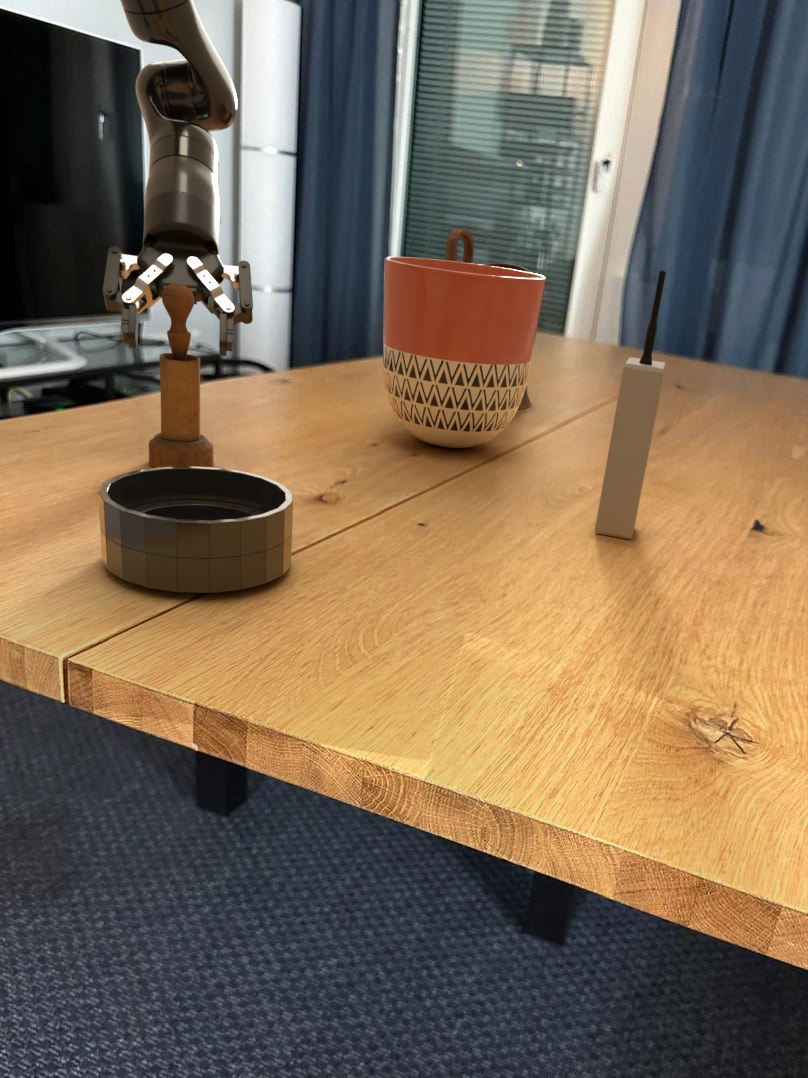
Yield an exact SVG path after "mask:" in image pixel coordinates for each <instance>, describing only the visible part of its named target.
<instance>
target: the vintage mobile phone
mask: <svg viewBox="0 0 808 1078" xmlns="http://www.w3.org/2000/svg"><path fill="white" fill-rule="evenodd" d="M666 275H667V271H666V270H664V269H661V270H659V271H658V277H657V282H656V288H655V292H654V299H653V304H652V310H651V314H650V319H649V322H648V326H647V329H646V335H645V341H644V346H643V351H642V355H641V357H640V358H639V357H633V356H630V357H628V359H627V360H626V362H625V364H624V365H623V367H622V368H623V369H622V373H621V379H620V386H619V390H618V396H617V400H616V401H617V402H616V408H615V413H614V418H613V425H612V431H611V435H610V441H609V446H608V453H607V459H606V464H605V470H604V475H603V481H602V485H601V491H600V492H601V493H600V498H599V503H598V509H597V515H596V521H595V526H594V532H595V534H597V535H603V536H608V537H613V538H619V539H624V540H625V539H626V540H630V539H632V537H633V533H634V530H635V526H636V523H637V518H638V512H639V506H640V501H641V496H642V490H643V487H644V486H643V485H644V482H645V481H644V480H645V475H646V470H647V465H648V461H649V460H648V459H649V455H650V450H651V445H652V439H653V435H654V429H655V423H656V419H657V415H658V411H659V410H658V409H659V404H660V400H661V395H662V389H663V385H664V380H665V374H666V369H667V363H666V361H665V362H664V361H656V360H653V350H654V346H655V340H656V334H657V330H658V317H659V312H660V306H661V302H662V301H661V300H662V296H663V290H664V285H665V280H666Z"/></svg>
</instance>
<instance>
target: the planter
mask: <svg viewBox="0 0 808 1078" xmlns="http://www.w3.org/2000/svg"><path fill="white" fill-rule="evenodd" d="M546 282H547V277H546V276H544V275H542V274H538V273H533V272H531V273H529V272H524V271H519V270H513V269H507V268H500V267H494V266H487V265H484V264H479V263H473V264H472V263H464V262H462V261H456V262H455V261H446V260H445V259H437V258H436V259H435V258H425V257H410V256H387V257H385V258H384V269H383V323H382V325H383V326H382V328H383V329H382V370H383V371H382V372H383V373H382V374H383V381H384V387H385V392H386V396H387V400H388V402H389V406H390V407H391V410H392V412H393V414H394V415H395V416H396V418H397V419H398V420H399V423H401V424H402V426H403V427H404V428H405V429H406V430H407V431H408V432H409V433H410V434H412V435H413V436H414V437H416V438H417V439H418V440H421V442H425V443H427V444H430V445H433V446H437V447H441V448H446V449H447V448H449V449H469V448H473V447H478V446H481V445H483V444H485V443H487V442H489V441H490V440H492V439H494V437H496V436H497V435H499V434H500V433H501V432H502V431H504V430H505V428H507V426H508V425H509V424H510V423H511V422H512V420H513V419H514V417H515V415H517V414H516V413H517V411H518V410H519V409H518V407H519V405H520V403H521V400H522V397H523V395H524V392H525V388H526V385H528V378H529V375H530V374H529V373H530V369H531V363H532V358H533V354H534V349H535V344H536V343H535V342H536V338H537V331H538V326H539V322H540V316H541V311H542V306H543V301H544V296H545V289H546V285H547V283H546Z"/></svg>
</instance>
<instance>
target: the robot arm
mask: <svg viewBox="0 0 808 1078" xmlns="http://www.w3.org/2000/svg"><path fill="white" fill-rule="evenodd" d="M120 3H121V7H122V9H123V12H124V16H125V17H126V21H127V24H128V26H129V29H130V30H131V32H132V34H133V35H134V36H135V37H136V38H137V39H138V40H140V41H142V42H145V43H148V44H153V45H158V46H164V47H169V48H172V49H174V50H175V51H177V52H178V53H180V54H181V55H182V57H183V58H182V59H173V60H167V61H166V60H164V61H155V62H152V63H149V64H147V65H145V66H144V67H143V68H141V70H140V71H139V72H138V75H137V77H136V80H135V88H134V89H135V96H136V100H137V104H138V107H139V109H140V112H141V115H142V117H143V118H142V119H143V121H144V124H145V128H146V132H147V136H148V142H149V166H148V179H147V183H146V187H145V195H144V196H145V197H144V213H143V214H144V215H143V216H144V217H143V233H142V235H143V236H142V249H141V251H140V252H139V254H137V255H132V254H126V253H122V249H121V248H120V247H118V246H114V245H113V246H110V247H109V248H108V249H107V255H106V256H107V257H106V264H105V271H104V278H103V284H102V295H103V299H104V305H105V308H106V310H107V311H109V312H119V313H120V314H121V317H120V318H121V319H120V332H121V337H122V341H123V342H124V343H128V347H129V349H134V350H135V349H136V350H137V349H138V342H139V325H140V323H139V321H140V318H139V315H140V314H141V313H143V312H144V310H146V309H150V308H152V307H153V306H155V304H156V303H158V302H159V301H160V300H162V293H163V290H164V289H165V287H166V286H168V285H169V284H183V285H186V286H187V287H188V288H189V289H190V290H191V291H192V293H193V296H194V305H198V303H199V302H201V303H202V305H203V306H204V307H205V308H206V309H207V310H208V312H209V313H210V314H212V315H214V316H215V317H216V318H217V319H218V320H219V331H218V332H219V334H218V335H219V337H218V338H219V339H218V340H219V341H218V345H219V346H218V348H219V350H218V351H219V357H228V356H227V355H228V352H233V350H234V348H235V327H236V325H238V324H239V323H242V324H245V325H249V324H252V323H253V318H254V316H253V309H254V301H253V300H254V299H253V286H252V285H253V284H252V273H251V271H252V269H251V263H250V262H248V260H240V261H239V262H238V263H237V265H225V264H224V263H223V262H222V260H221V258H220V257H221V256H220V253H221V251H220V250H221V247H220V246H221V224H222V217H221V199H220V192H219V167H220V166H219V165H220V158H219V157H220V156H219V155H220V154H219V148H218V145H217V142H216V140H215V138H214V136H213V135H212V134H211V133H210V132H218V131H223V130H226V129H228V128H230V127H231V126H232V125H233V124H234V122H235V120H236V118H237V114H238V106H239V104H238V101H239V100H238V95H237V91H236V87H235V84H234V82H233V79H232V78H231V76H230V73H229V71H228V69H227V67H226V66H225V64H224V62H223V60H222V59H221V57H220V55H219V53H218V52H217V49H216V47H214V45H213V42H212V41H211V39H210V37H209V35H208V33H207V31H206V29H205V27H204V25H203V22H202V20H201V18H200V16H199V14H198V11H197V9H196V5H195V3H194V0H120ZM133 271H138V274H139V275H138V277H137V278H136V279H135V281H134V282H135V283H134V284H132V286H131V287H130V288H128V289H127V290H126V291H125V292H124V293H123V292H122V286H123V279H124V280H126V279H128V277H129V276H130V275H131V273H132V272H133ZM224 280H227V281H229V283H230V286H231V287H232V288H233V289H234V290H235V291H238V303H233V302H232V301H231V300H230V299H229V298H228V297H227V296H226V294H225V293H224V290H223V288H222V287H221V284H222V283H223V282H224Z"/></svg>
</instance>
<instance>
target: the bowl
mask: <svg viewBox="0 0 808 1078" xmlns="http://www.w3.org/2000/svg"><path fill="white" fill-rule="evenodd" d="M97 496H98V497H97V498H98V515H99V531H100V547H101V560H102V563H104V566H105V568H106V569H107V570H106V571H108V572H110V573H112V574H113V575H115V576H116V577H118V578H120V579H121V580H123V581H125V582H129V583H132V584H135V585H137V586H138V585H139V586H141V587H144V588H148V589H154V590H161V591H165V592H174V593H187V594H215V593H226V592H232V591H233V592H234V591H235V592H236V591H241V590H242V591H243V590H245V589H246V590H247V589H251V588H253V587H258V586H262V585H265V584H268V583H270V582H272V581H274V580H276V579H279V578H280V577H282V576H284V575H285V573H286V572H287V571H288V570H289V569H290V567H291V566H292V552H293V551H292V549H293V547H292V546H293V519H294V498H293V492H292V491H291V490H290V489H288V488H287V486H285V485H284V484H282V483H280V482H278V481H276V480H273V479H271V478H270V477H267V476H263V475H259V474H255V473H251V472H247V471H243V470H236V469H229V468H221V467H194V466H181V467H158V468H155V467H151V468H144V469H143V468H142V469H137V470H133V471H129V472H125V473H122V474H121V473H120V474H118V475H115V476H112V477H111V478H109V479H108V480H106V481H103V482H102V484H101V486H100V487H99V490H98V491H97Z"/></svg>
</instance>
